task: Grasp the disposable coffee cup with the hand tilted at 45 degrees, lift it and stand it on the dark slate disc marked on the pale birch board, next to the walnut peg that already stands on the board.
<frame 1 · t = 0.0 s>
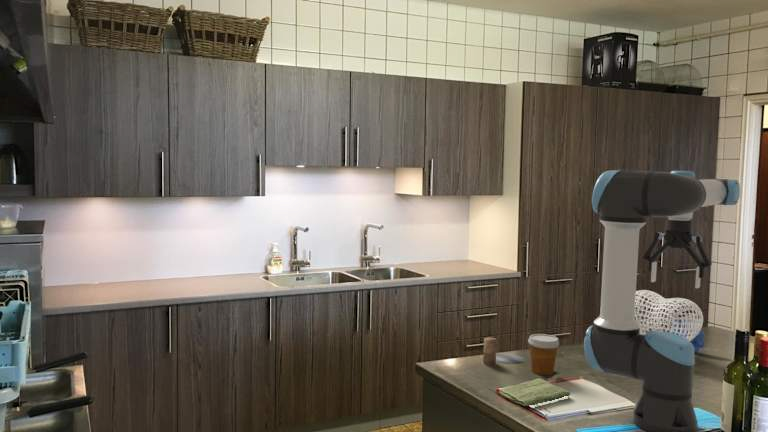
hand: (674, 284, 212), 28 cm above the counter, tool pointing down, fingers open, 13 cm apart
washcloth: (534, 399, 186), on the counter
walnut peg: (489, 363, 211), point 1 cm above the counter, touching board
board: (508, 364, 215), on the counter
heart: (658, 358, 227), on the counter
disposable coffee cup: (542, 375, 205), on the counter
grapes: (685, 352, 234), on the counter
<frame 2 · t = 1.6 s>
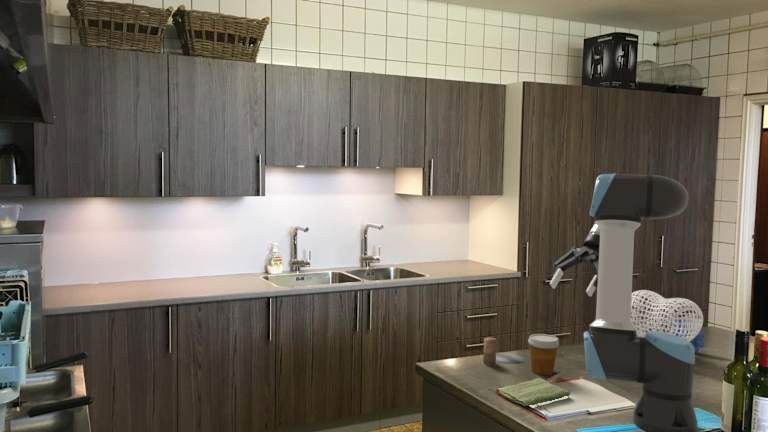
hand: (569, 290, 210), 26 cm above the counter, tool tilted 45°, fingers open, 13 cm apart
nothing on the counter moved.
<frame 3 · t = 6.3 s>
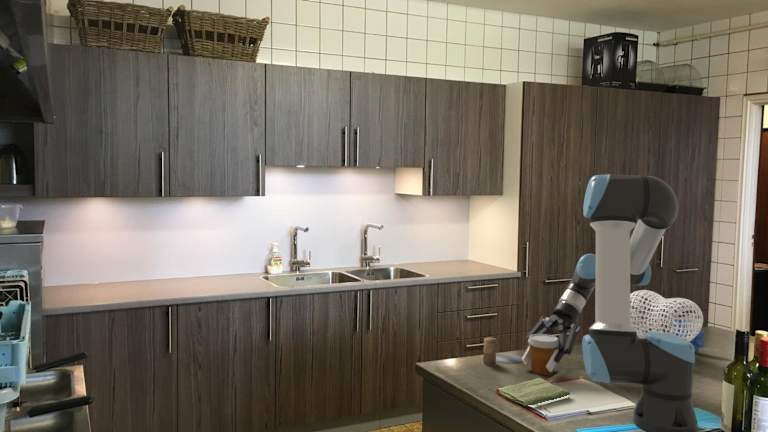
hand: (536, 365, 202), 4 cm above the counter, tool tilted 45°, fingers closed on disposable coffee cup, 8 cm apart
disposable coffee cup: (542, 375, 205), on the counter, touching gripper
everything else where it was.
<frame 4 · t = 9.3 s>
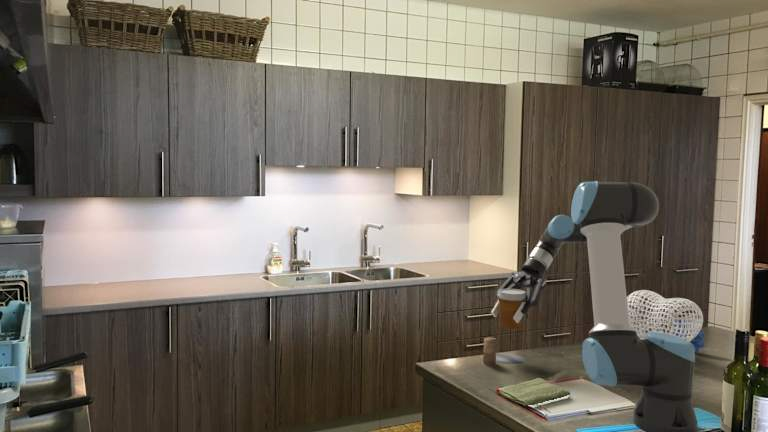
hand: (504, 317, 213), 16 cm above the counter, tool tilted 45°, fingers closed on disposable coffee cup, 8 cm apart
disposable coffee cup: (510, 327, 216), point 12 cm above the counter, touching gripper
everything else where it was.
when the fingers open (5 cm above the counter, at t = 12.1 s): disposable coffee cup moves 4 cm, point 2 cm above the counter.
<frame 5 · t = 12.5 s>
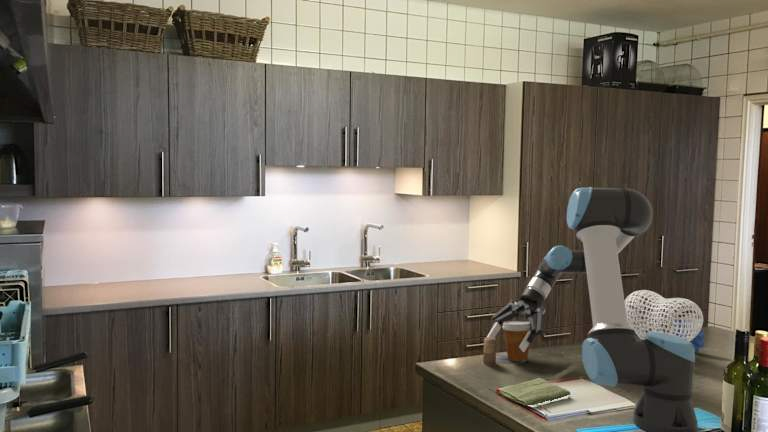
hand: (504, 344, 215), 6 cm above the counter, tool tilted 45°, fingers open, 13 cm apart
disposable coffee cup: (518, 360, 215), point 2 cm above the counter, touching gripper
everything else where it was.
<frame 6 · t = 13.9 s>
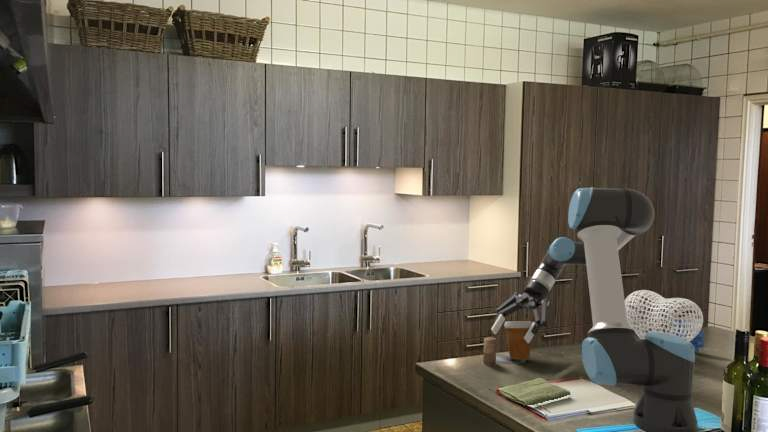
hand: (509, 336, 216), 9 cm above the counter, tool tilted 45°, fingers open, 13 cm apart
disposable coffee cup: (519, 359, 215), point 2 cm above the counter, touching board, gripper
everything else where it was.
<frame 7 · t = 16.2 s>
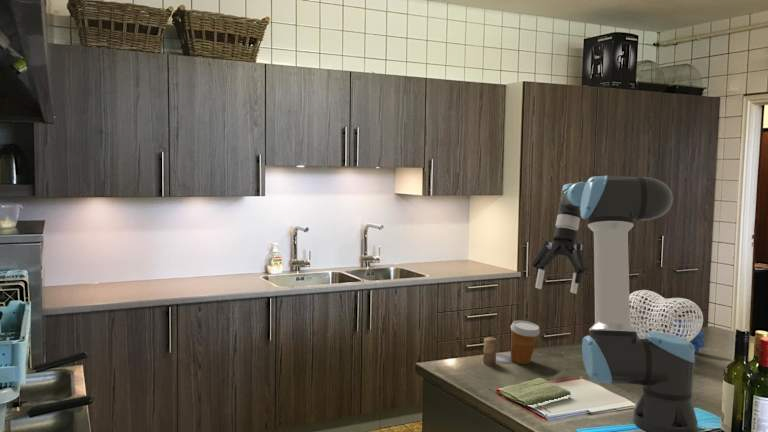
hand: (555, 290, 219), 23 cm above the counter, tool tilted 20°, fingers open, 13 cm apart
disposable coffee cup: (520, 360, 215), point 1 cm above the counter, touching board
everything else where it was.
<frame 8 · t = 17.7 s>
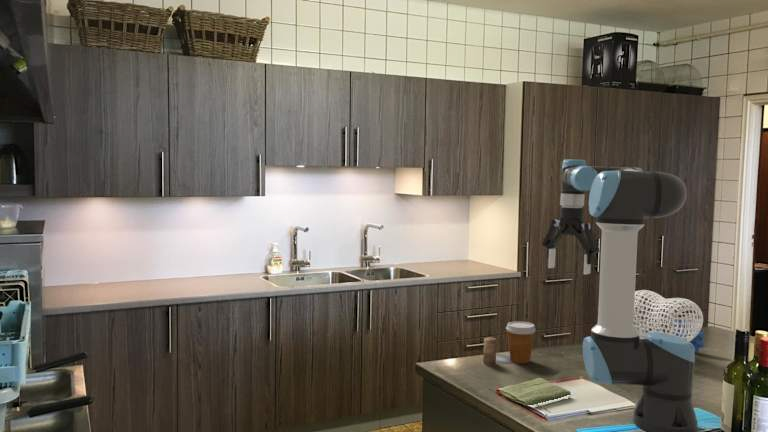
hand: (568, 270, 217), 31 cm above the counter, tool pointing down, fingers open, 13 cm apart
at the end: disposable coffee cup inside the target area (3.9 cm from its centre), point 1.1 cm above the counter; disposable coffee cup tilted 1°; the gripper is holding nothing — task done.
